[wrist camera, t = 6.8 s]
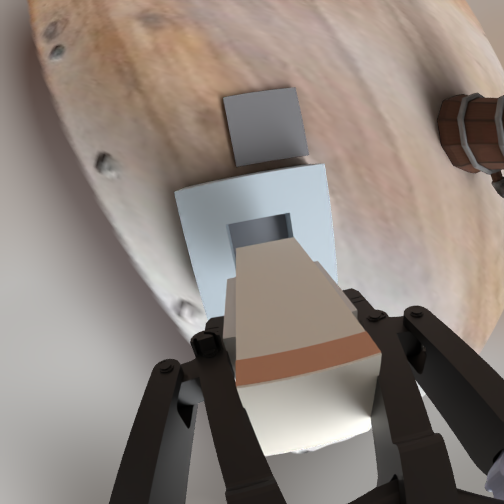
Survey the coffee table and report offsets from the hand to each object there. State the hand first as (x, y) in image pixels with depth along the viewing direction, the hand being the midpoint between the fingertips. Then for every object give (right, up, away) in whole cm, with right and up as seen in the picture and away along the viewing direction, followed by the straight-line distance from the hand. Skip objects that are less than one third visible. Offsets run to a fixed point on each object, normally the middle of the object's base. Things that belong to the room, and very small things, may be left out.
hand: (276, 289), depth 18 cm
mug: (+31, +19, +12) cm, 38 cm away
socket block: (-1, +4, +14) cm, 15 cm away
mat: (0, +16, +10) cm, 19 cm away
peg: (0, +1, +4) cm, 4 cm away
